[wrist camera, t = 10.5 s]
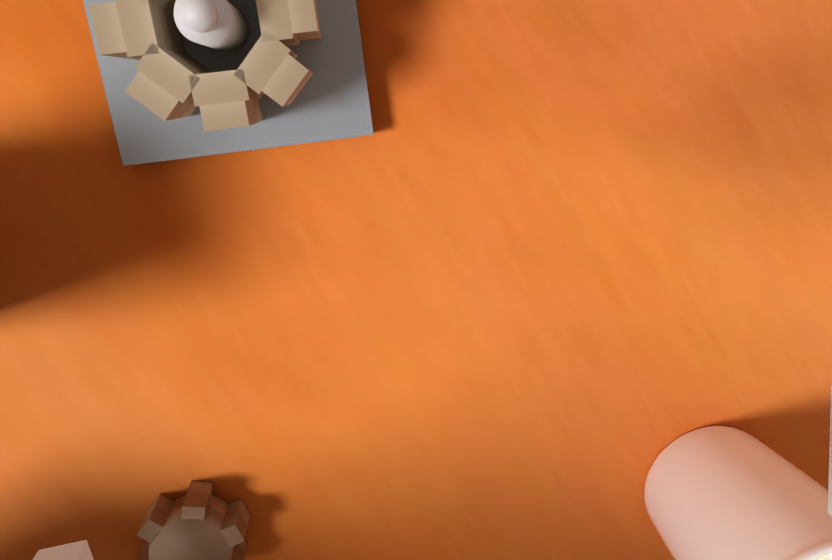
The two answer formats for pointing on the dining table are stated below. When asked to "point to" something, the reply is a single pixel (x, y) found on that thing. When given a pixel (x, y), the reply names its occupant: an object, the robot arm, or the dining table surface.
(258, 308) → the dining table surface
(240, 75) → the maple gear
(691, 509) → the candle holder
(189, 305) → the dining table surface
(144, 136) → the gear board
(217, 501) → the gear
